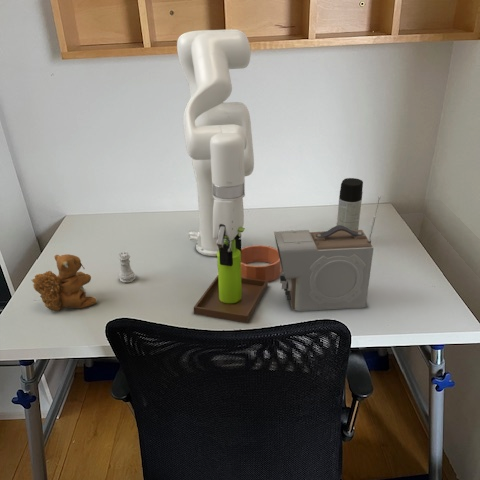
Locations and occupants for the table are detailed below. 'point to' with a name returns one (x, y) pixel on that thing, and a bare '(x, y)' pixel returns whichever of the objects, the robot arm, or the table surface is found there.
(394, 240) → the table surface
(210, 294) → the tray
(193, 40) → the robot arm
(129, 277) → the rook chess piece
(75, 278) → the stuffed squirrel
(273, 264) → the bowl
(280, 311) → the table surface
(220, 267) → the soap dispenser
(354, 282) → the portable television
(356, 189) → the spray can
